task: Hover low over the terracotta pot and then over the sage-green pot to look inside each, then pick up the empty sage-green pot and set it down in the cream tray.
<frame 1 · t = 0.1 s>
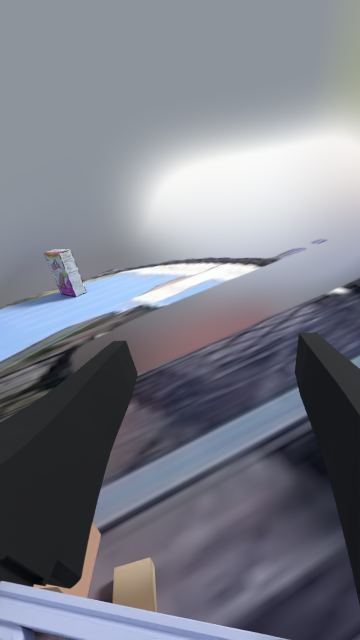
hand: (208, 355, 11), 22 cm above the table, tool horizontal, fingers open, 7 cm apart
cedar offcut: (138, 625, 19), on the table
candy bar box: (73, 294, 95), on the table
pot terracotta: (66, 571, 22), on the table, touching ball
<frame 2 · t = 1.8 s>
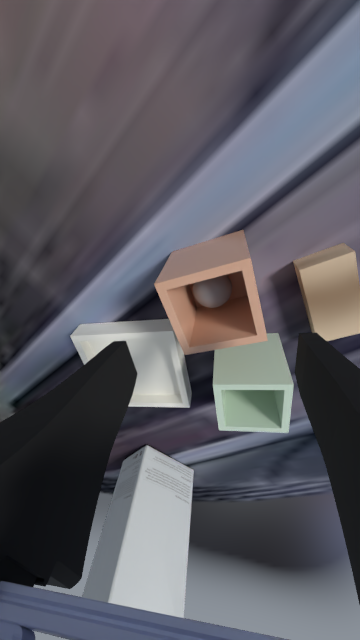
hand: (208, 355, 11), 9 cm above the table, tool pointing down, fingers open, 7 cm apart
ball: (212, 288, 17), point 2 cm above the table, tilted 13°, touching pot terracotta
pot green: (246, 357, 22), on the table
cedar offcut: (323, 289, 18), on the table
skincare box: (160, 462, 34), on the table
tray: (139, 360, 24), on the table
pot terracotta: (215, 274, 18), on the table, touching ball
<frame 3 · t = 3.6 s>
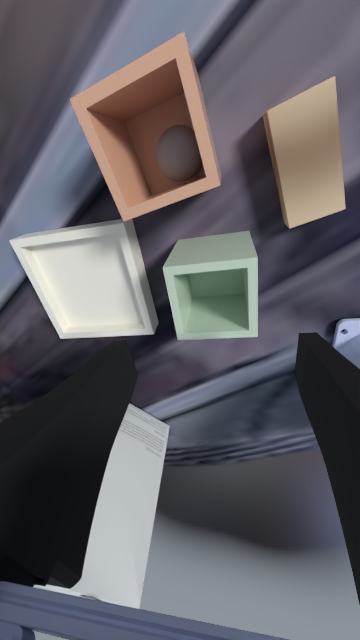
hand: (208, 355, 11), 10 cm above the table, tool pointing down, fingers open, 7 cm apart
ball: (179, 154, 14), point 2 cm above the table, tilted 36°, touching pot terracotta
pot green: (215, 268, 19), on the table
cedar offcut: (299, 162, 15), on the table
skincare box: (133, 419, 31), on the table
tray: (96, 281, 21), on the table
pot terracotta: (171, 148, 15), on the table, touching ball
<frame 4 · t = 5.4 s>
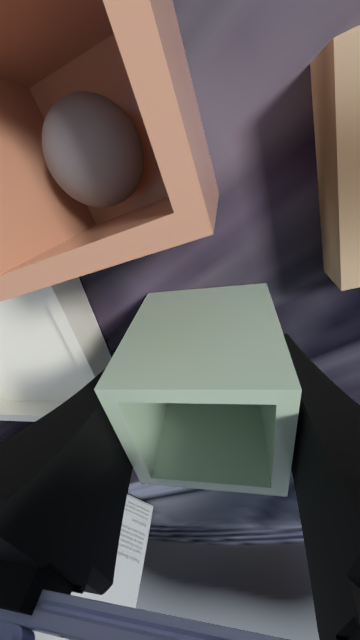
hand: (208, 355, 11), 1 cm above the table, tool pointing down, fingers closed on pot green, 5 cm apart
ball: (95, 155, 7), point 2 cm above the table, tilted 22°, touching pot terracotta
pot green: (210, 335, 12), on the table, touching gripper
skincare box: (107, 494, 24), on the table
tray: (31, 343, 14), on the table
pot terracotta: (124, 139, 8), on the table, touching ball
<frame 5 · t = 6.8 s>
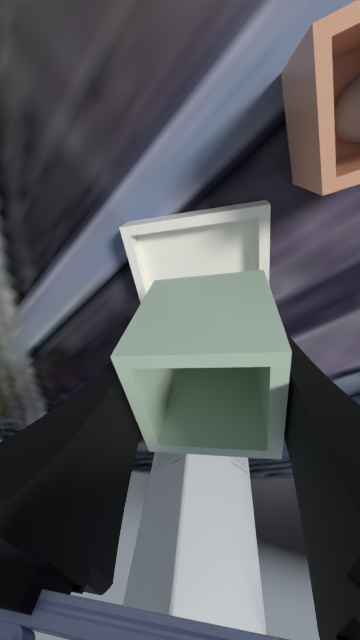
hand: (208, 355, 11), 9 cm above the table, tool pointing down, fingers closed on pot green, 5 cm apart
pot green: (211, 320, 13), point 6 cm above the table, touching gripper
skincare box: (204, 428, 29), on the table
tray: (201, 276, 18), on the table
pot terracotta: (339, 112, 12), on the table, touching ball
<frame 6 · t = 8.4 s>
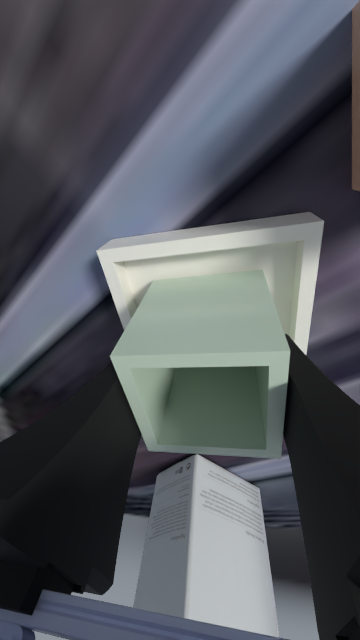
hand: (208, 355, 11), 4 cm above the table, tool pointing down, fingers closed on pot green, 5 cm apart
pot green: (210, 320, 13), point 1 cm above the table, touching gripper
skincare box: (210, 477, 24), on the table
tray: (211, 311, 14), on the table
when the fingers open (4 cm above the table, at t = 8.4 s): pot green stays where it is, resting on tray.
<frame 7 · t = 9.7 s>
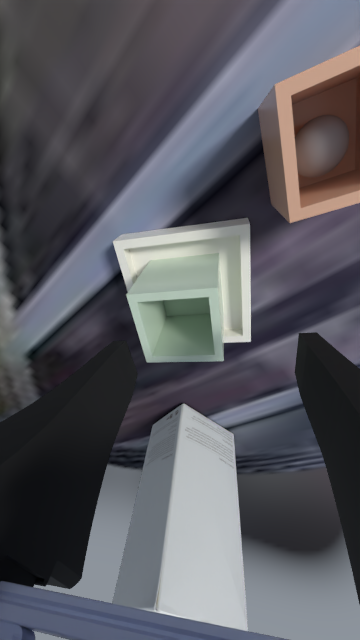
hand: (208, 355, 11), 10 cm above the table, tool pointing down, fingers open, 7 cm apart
ball: (318, 148, 13), point 2 cm above the table, tilted 10°, touching pot terracotta
pot green: (188, 288, 19), point 1 cm above the table, touching tray
skincare box: (195, 426, 30), on the table
tray: (189, 285, 20), on the table
pot terracotta: (310, 143, 14), on the table, touching ball
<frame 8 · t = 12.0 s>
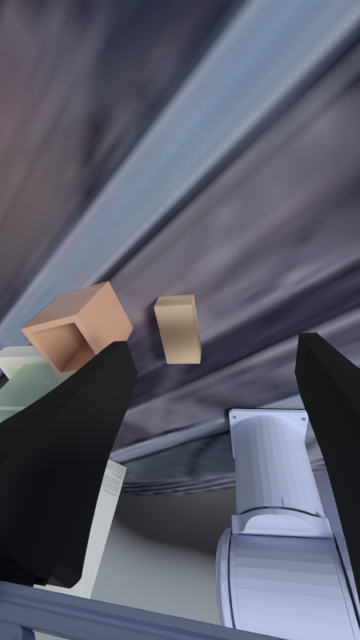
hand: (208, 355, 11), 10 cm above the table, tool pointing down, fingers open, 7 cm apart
pot green: (54, 380, 28), point 1 cm above the table, touching tray
cedar offcut: (181, 323, 22), on the table
skincare box: (98, 461, 39), on the table
tray: (58, 375, 29), on the table
pot terracotta: (98, 311, 23), on the table, touching ball
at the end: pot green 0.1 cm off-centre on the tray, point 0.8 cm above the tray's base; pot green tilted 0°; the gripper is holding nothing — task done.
